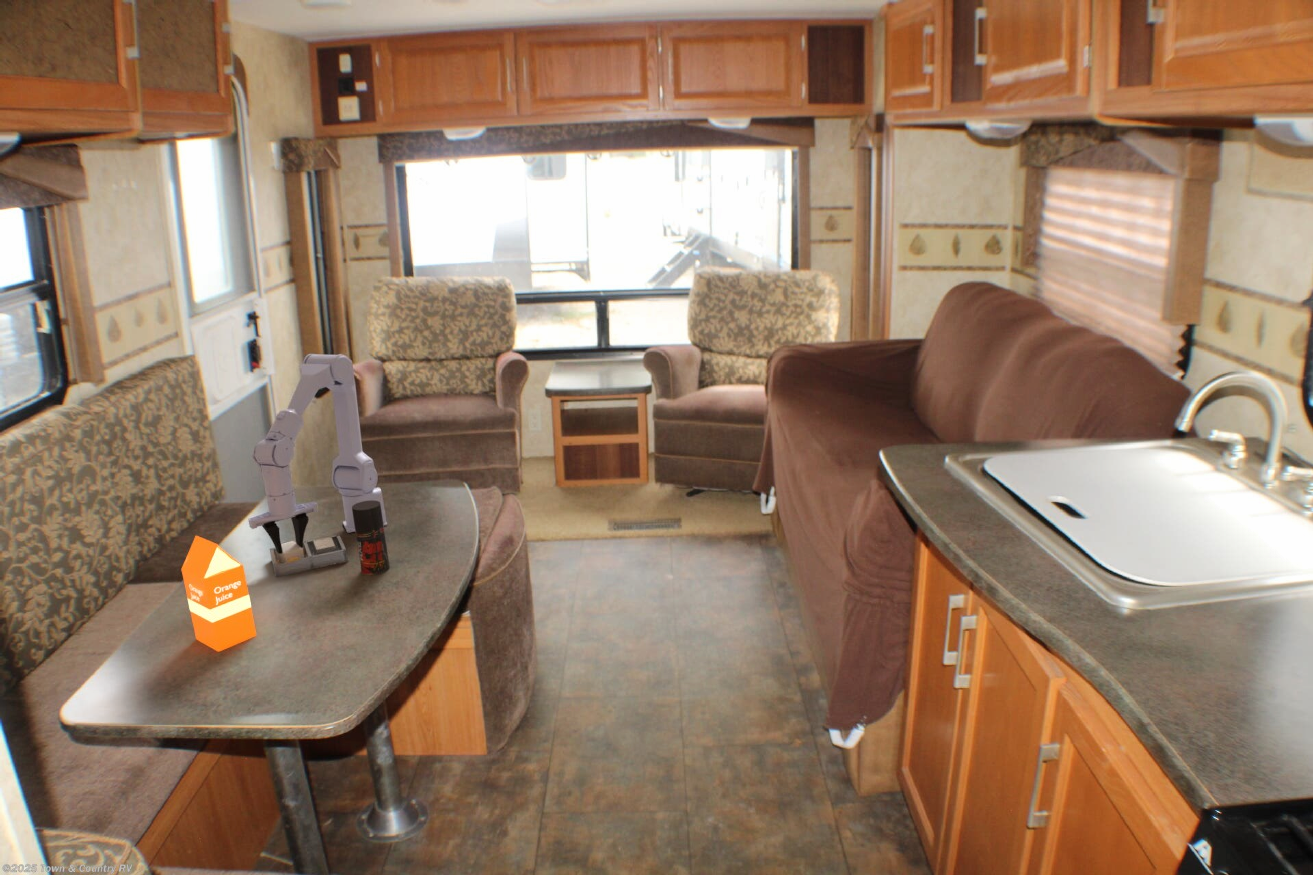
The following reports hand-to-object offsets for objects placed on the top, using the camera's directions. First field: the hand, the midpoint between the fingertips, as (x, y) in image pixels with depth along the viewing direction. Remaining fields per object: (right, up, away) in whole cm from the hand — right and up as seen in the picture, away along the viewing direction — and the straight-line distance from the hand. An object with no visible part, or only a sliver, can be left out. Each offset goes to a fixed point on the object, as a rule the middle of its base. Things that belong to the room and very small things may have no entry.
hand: (290, 549), depth 212 cm
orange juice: (0, -13, -32) cm, 34 cm away
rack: (+4, -3, +2) cm, 5 cm away
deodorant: (+20, -4, -4) cm, 21 cm away
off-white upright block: (0, -3, +1) cm, 3 cm away
